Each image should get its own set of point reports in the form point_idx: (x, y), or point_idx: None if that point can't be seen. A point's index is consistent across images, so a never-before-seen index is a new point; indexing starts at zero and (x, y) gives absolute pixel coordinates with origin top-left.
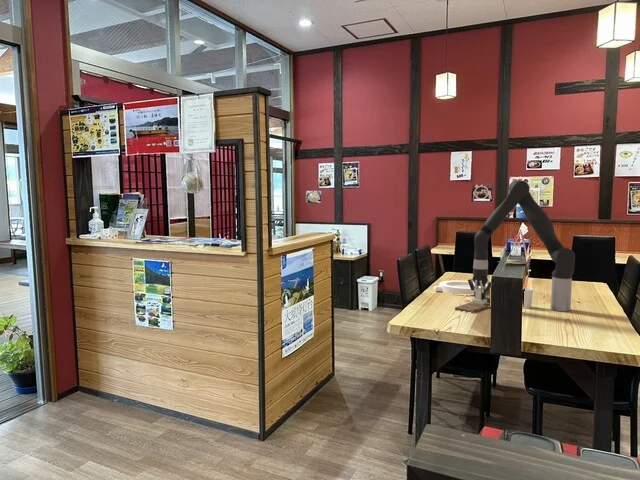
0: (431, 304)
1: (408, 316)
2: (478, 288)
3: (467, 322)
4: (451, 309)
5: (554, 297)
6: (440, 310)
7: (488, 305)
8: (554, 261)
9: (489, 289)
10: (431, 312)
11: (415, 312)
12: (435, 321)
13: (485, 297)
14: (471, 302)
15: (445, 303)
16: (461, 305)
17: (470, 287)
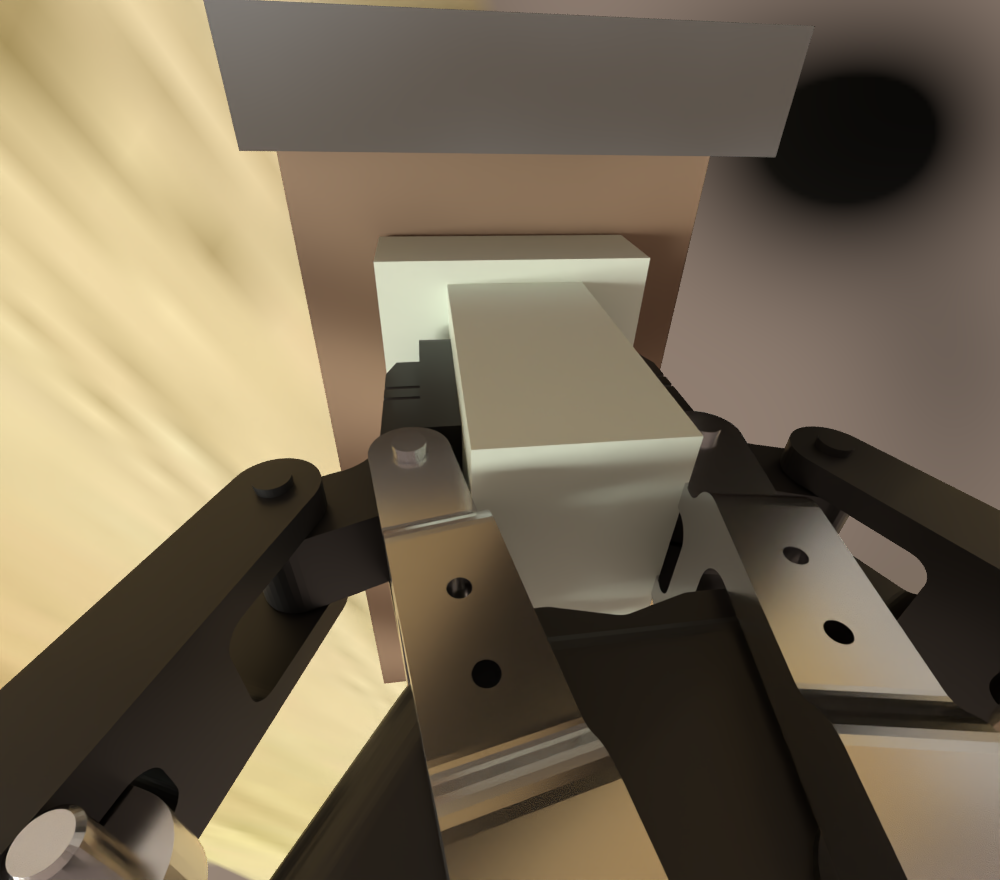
0: (8, 666)
1: None
2: (510, 545)
3: None
4: (346, 661)
5: None
6: (307, 729)
7: (668, 310)
8: None
9: (915, 496)
10: (312, 784)
11: (239, 832)
12: None
13: (566, 87)
14: (346, 359)
15: (25, 531)
16: (375, 597)
17: (244, 647)
